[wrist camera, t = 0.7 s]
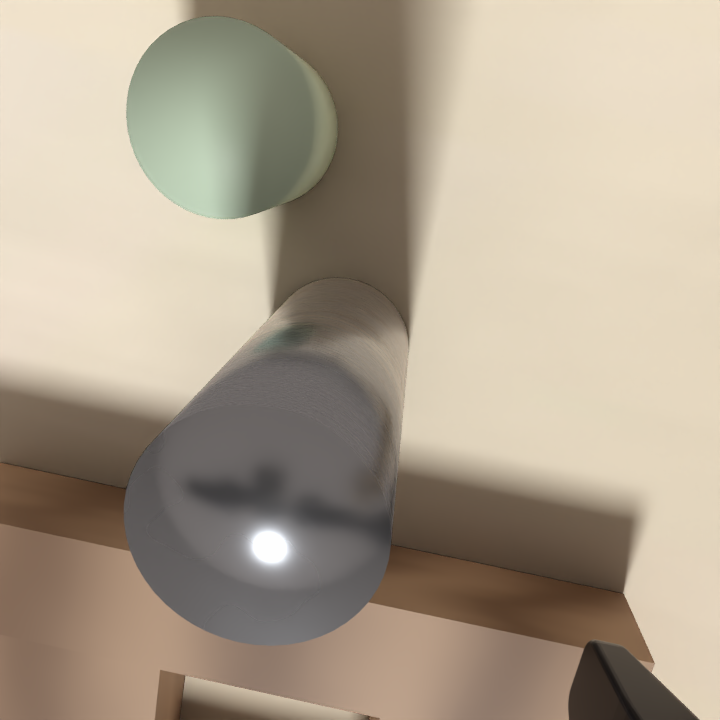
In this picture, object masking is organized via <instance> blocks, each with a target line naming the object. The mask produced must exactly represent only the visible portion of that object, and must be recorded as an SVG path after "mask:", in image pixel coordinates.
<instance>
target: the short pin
mask: <svg viewBox="0 0 720 720" xmlns="http://www.w3.org/2000/svg"><path fill="white" fill-rule="evenodd" d="M126 118H127V127H128V133H129V137H130V142H131V145H132V148H133V151H134V153H135V156H136V158H137V160H138V162H139V164H140V166H141V168H142V170H143V171H144V173H145V174H146V176H147V177H148V179H149V180H150V181H151V182H152V183H153V185H154V186H155V187H156V188H157V189H158V190H159V191H160V192H161V193H162V194H163V195H164V196H165V197H167V198H168V199H169V200H171V201H172V202H173V203H175V204H176V205H178V206H180V207H182V208H183V209H185V210H187V211H190V212H192V213H195V214H197V215H201V216H205V217H208V218H216V219H235V218H242V217H246V216H250V215H253V214H256V213H259V212H262V211H265V210H267V209H270V208H273V207H276V206H279V205H281V204H284V203H287V202H290V201H292V200H294V199H296V198H299V197H300V196H302V195H304V194H305V193H307V192H308V191H309V190H310V189H312V188H313V187H314V186H315V185H316V184H317V183H318V182H319V181H320V179H321V178H322V177H323V175H324V174H325V172H326V171H327V169H328V167H329V165H330V163H331V161H332V158H333V156H334V153H335V149H336V144H337V137H338V120H337V113H336V109H335V105H334V101H333V99H332V96H331V94H330V91H329V89H328V88H327V86H326V84H325V82H324V81H323V79H322V78H321V77H320V75H319V74H318V73H317V72H316V71H315V70H314V69H313V68H312V67H311V66H310V65H309V64H308V63H307V62H305V61H304V60H303V59H302V58H300V57H299V56H298V55H296V54H295V53H294V52H292V51H291V50H289V49H288V48H287V47H285V46H284V45H283V44H281V43H280V42H279V41H277V40H276V39H275V38H273V37H272V36H271V35H269V34H268V33H267V32H265V31H263V30H262V29H260V28H258V27H256V26H254V25H252V24H250V23H247V22H245V21H242V20H238V19H234V18H230V17H221V16H208V17H200V18H195V19H191V20H188V21H185V22H183V23H180V24H178V25H176V26H174V27H173V28H171V29H169V30H168V31H166V32H165V33H164V34H162V35H161V36H159V37H158V38H157V39H156V40H155V41H154V42H153V43H152V44H151V45H150V47H149V48H148V49H147V51H146V52H145V53H144V55H143V56H142V58H141V59H140V61H139V63H138V65H137V67H136V69H135V71H134V74H133V76H132V79H131V83H130V87H129V90H128V97H127V111H126Z"/></svg>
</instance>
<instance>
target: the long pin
mask: <svg viewBox="0 0 720 720" xmlns="http://www.w3.org/2000/svg"><path fill="white" fill-rule="evenodd" d="M408 353H409V342H408V334H407V330H406V327H405V324H404V322H403V319H402V317H401V315H400V313H399V312H398V310H397V309H396V307H395V306H394V305H393V303H392V302H391V301H390V300H389V299H388V298H387V297H386V296H385V295H384V294H382V293H381V292H380V291H378V290H377V289H375V288H373V287H372V286H370V285H368V284H365V283H363V282H361V281H357V280H353V279H348V278H327V279H321V280H318V281H314V282H312V283H309V284H307V285H305V286H303V287H302V288H300V289H298V290H297V291H296V292H294V293H293V294H292V295H291V296H290V297H289V298H288V299H287V300H286V301H285V302H284V303H283V304H282V305H281V306H280V307H279V308H278V309H277V311H276V312H275V313H274V314H273V315H272V316H271V317H270V318H269V319H268V320H267V321H266V322H265V323H264V324H263V325H262V326H261V327H260V328H259V330H258V331H257V332H256V333H255V334H254V335H253V336H252V337H251V338H250V339H249V340H248V341H247V342H246V343H245V344H244V345H243V346H242V348H241V349H240V350H239V351H238V352H237V353H236V354H235V355H234V356H233V357H232V358H231V359H230V360H229V361H228V362H227V363H226V364H225V365H224V367H223V368H222V369H221V370H220V371H219V372H218V373H217V374H216V375H215V376H214V377H213V378H212V379H211V380H210V381H209V382H208V383H207V384H206V386H205V387H204V388H203V389H202V390H201V391H200V392H199V393H198V394H197V395H196V396H195V397H194V398H193V399H192V400H191V401H190V402H189V403H188V405H187V406H186V407H185V408H184V409H183V410H182V411H181V412H180V413H179V414H178V415H177V416H176V417H175V418H174V419H173V420H172V421H171V423H170V424H169V425H168V426H167V427H166V428H165V429H164V430H163V431H162V432H161V433H160V434H159V435H158V436H157V437H156V438H155V439H154V440H153V442H152V443H151V444H150V445H149V446H148V447H147V448H146V449H145V451H144V452H143V454H142V455H141V457H140V458H139V459H138V461H137V463H136V465H135V467H134V469H133V471H132V473H131V476H130V479H129V482H128V485H127V488H126V494H125V500H124V526H125V533H126V538H127V542H128V545H129V549H130V552H131V554H132V556H133V559H134V561H135V564H136V566H137V567H138V569H139V571H140V573H141V574H142V576H143V578H144V579H145V581H146V582H147V583H148V585H149V586H150V587H151V589H152V590H153V591H154V593H155V594H156V595H157V596H158V597H159V598H160V599H161V600H162V601H163V602H164V603H165V604H166V605H167V606H168V607H170V608H171V609H172V610H173V611H174V612H176V613H177V614H178V615H179V616H181V617H182V618H184V619H185V620H187V621H188V622H190V623H191V624H193V625H195V626H197V627H199V628H201V629H203V630H205V631H207V632H209V633H212V634H214V635H217V636H219V637H222V638H225V639H229V640H232V641H236V642H240V643H246V644H253V645H267V646H275V645H289V644H295V643H300V642H305V641H308V640H312V639H315V638H318V637H321V636H323V635H325V634H327V633H330V632H332V631H334V630H336V629H337V628H339V627H340V626H342V625H344V624H345V623H347V622H348V621H349V620H351V619H352V618H353V617H354V616H355V615H357V614H358V613H359V612H360V611H361V610H362V609H363V608H364V606H365V605H366V604H367V603H368V602H369V601H370V599H371V598H372V596H373V595H374V593H375V592H376V590H377V589H378V587H379V585H380V583H381V581H382V579H383V576H384V574H385V571H386V567H387V564H388V561H389V555H390V548H391V538H392V528H393V517H394V506H395V495H396V484H397V473H398V462H399V451H400V440H401V429H402V418H403V408H404V397H405V386H406V375H407V364H408Z"/></svg>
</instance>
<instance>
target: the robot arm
mask: <svg viewBox="0 0 720 720" xmlns="http://www.w3.org/2000/svg"><path fill="white" fill-rule="evenodd" d="M568 714H569V720H699V719H698V718H697V717H696V716H695V715H694V714H693V713H692V712H691V711H690V710H689V709H688V708H687V707H686V706H685V705H684V704H683V703H682V702H681V701H680V700H679V699H678V698H677V697H676V696H675V695H674V694H673V693H671V692H670V691H669V690H668V689H667V688H666V687H665V686H664V685H663V684H662V683H661V682H660V681H659V680H658V679H657V678H656V677H655V676H654V675H653V674H652V673H651V672H650V671H649V670H648V669H647V668H646V667H645V666H644V665H643V664H642V663H641V662H640V661H639V660H638V659H636V658H635V657H634V656H633V655H632V654H631V653H630V652H629V651H628V650H627V649H626V648H625V647H624V646H622V645H619V644H615V643H610V642H605V641H601V640H596V639H593V640H590V641H589V642H588V643H587V644H586V646H585V648H584V650H583V653H582V656H581V659H580V662H579V665H578V668H577V671H576V674H575V677H574V680H573V682H572V685H571V689H570V693H569V699H568Z"/></svg>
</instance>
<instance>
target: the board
mask: <svg viewBox="0 0 720 720" xmlns="http://www.w3.org/2000/svg"><path fill="white" fill-rule="evenodd" d="M125 494H126V489H123V488H119V487H114V486H109V485H104V484H100V483H95V482H90V481H85V480H81V479H76V478H71V477H66V476H62V475H57V474H52V473H47V472H43V471H38V470H33V469H28V468H24V467H19V466H14V465H9V464H5V463H0V720H180V712H181V704H182V696H183V688H184V680H185V675H186V676H191V677H195V678H200V679H204V680H209V681H213V682H218V683H222V684H227V685H232V686H236V687H241V688H245V689H250V690H254V691H259V692H263V693H268V694H272V695H277V696H282V697H286V698H291V699H295V700H300V701H304V702H309V703H313V704H318V705H322V706H327V707H332V708H336V709H341V710H345V711H350V712H354V713H359V714H363V715H368V716H369V720H569V714H568V699H569V693H570V689H571V685H572V682H573V680H574V677H575V674H576V671H577V668H578V665H579V662H580V659H581V656H582V653H583V650H584V648H585V646H586V644H587V643H588V642H589V641H590V640H593V639H596V640H601V641H605V642H610V643H615V644H619V645H622V646H624V647H625V648H626V649H627V650H628V651H629V652H630V653H631V654H632V655H633V656H634V657H635V658H636V659H638V660H639V661H640V662H641V663H642V664H643V665H644V666H645V667H646V668H647V669H648V670H649V671H650V672H652V669H653V667H654V664H655V663H654V661H653V658H652V656H651V654H650V652H649V649H648V647H647V645H646V643H645V640H644V638H643V636H642V634H641V632H640V629H639V627H638V625H637V623H636V620H635V618H634V616H633V614H632V611H631V609H630V607H629V605H628V602H627V600H626V598H625V596H624V594H622V593H617V592H613V591H608V590H603V589H598V588H594V587H589V586H584V585H579V584H575V583H570V582H565V581H560V580H556V579H551V578H546V577H541V576H537V575H532V574H527V573H522V572H518V571H513V570H508V569H503V568H499V567H494V566H489V565H484V564H480V563H475V562H470V561H465V560H461V559H456V558H451V557H446V556H442V555H437V554H432V553H427V552H423V551H418V550H413V549H408V548H404V547H399V546H394V545H391V548H390V555H389V561H388V564H387V567H386V571H385V574H384V576H383V579H382V581H381V583H380V585H379V587H378V589H377V590H376V592H375V593H374V595H373V596H372V598H371V599H370V601H369V602H368V603H367V604H366V605H365V606H364V608H363V609H362V610H361V611H360V612H359V613H358V614H357V615H355V616H354V617H353V618H352V619H351V620H349V621H348V622H347V623H345V624H344V625H342V626H340V627H339V628H337V629H336V630H334V631H332V632H330V633H327V634H325V635H323V636H321V637H318V638H315V639H312V640H308V641H305V642H300V643H295V644H289V645H275V646H267V645H253V644H246V643H240V642H236V641H232V640H229V639H225V638H222V637H219V636H217V635H214V634H212V633H209V632H207V631H205V630H203V629H201V628H199V627H197V626H195V625H193V624H191V623H190V622H188V621H187V620H185V619H184V618H182V617H181V616H179V615H178V614H177V613H176V612H174V611H173V610H172V609H171V608H170V607H168V606H167V605H166V604H165V603H164V602H163V601H162V600H161V599H160V598H159V597H158V596H157V595H156V594H155V593H154V591H153V590H152V589H151V587H150V586H149V585H148V583H147V582H146V581H145V579H144V578H143V576H142V574H141V573H140V571H139V569H138V567H137V566H136V564H135V561H134V559H133V556H132V554H131V552H130V549H129V545H128V542H127V538H126V533H125V526H124V500H125Z"/></svg>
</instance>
